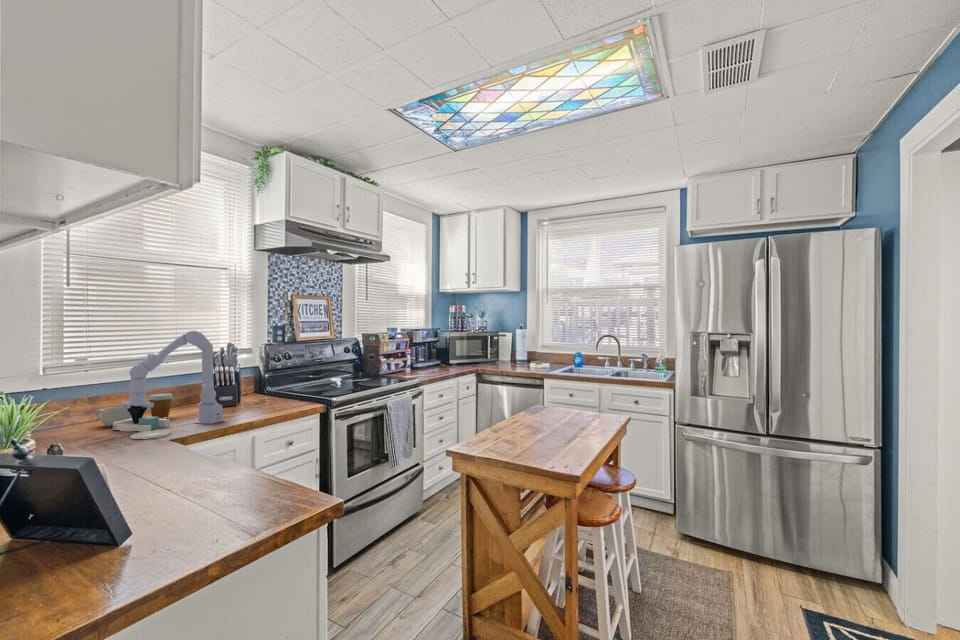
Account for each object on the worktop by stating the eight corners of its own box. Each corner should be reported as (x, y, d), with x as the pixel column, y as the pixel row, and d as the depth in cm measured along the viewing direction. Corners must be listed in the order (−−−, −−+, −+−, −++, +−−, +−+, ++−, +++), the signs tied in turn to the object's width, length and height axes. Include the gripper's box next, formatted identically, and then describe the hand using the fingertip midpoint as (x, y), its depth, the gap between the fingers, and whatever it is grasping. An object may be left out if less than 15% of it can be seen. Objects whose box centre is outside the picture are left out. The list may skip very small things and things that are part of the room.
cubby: (169, 426, 190) (169, 418, 190) (146, 432, 179) (146, 423, 179) (137, 425, 193) (137, 417, 193) (112, 430, 182) (113, 422, 182)
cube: (158, 428, 188) (159, 416, 188) (148, 430, 183) (148, 419, 183) (149, 427, 188) (149, 416, 189) (138, 430, 183) (138, 418, 184)
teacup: (137, 423, 197) (138, 406, 197) (115, 428, 186) (116, 410, 186) (110, 422, 198) (111, 405, 198) (87, 427, 187) (87, 409, 188)
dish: (178, 433, 178) (178, 430, 178) (149, 440, 165) (149, 438, 165) (151, 431, 180) (151, 429, 180) (121, 439, 167) (121, 436, 167)
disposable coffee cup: (142, 420, 203) (143, 395, 204) (162, 416, 212) (163, 393, 213) (157, 421, 201) (158, 396, 201) (176, 418, 210) (177, 393, 210)
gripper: (115, 393, 184) (113, 424, 184) (143, 394, 182) (142, 425, 181) (130, 391, 191) (129, 421, 191) (158, 392, 189) (157, 422, 188)
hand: (136, 423), depth 186 cm, fingers closed
